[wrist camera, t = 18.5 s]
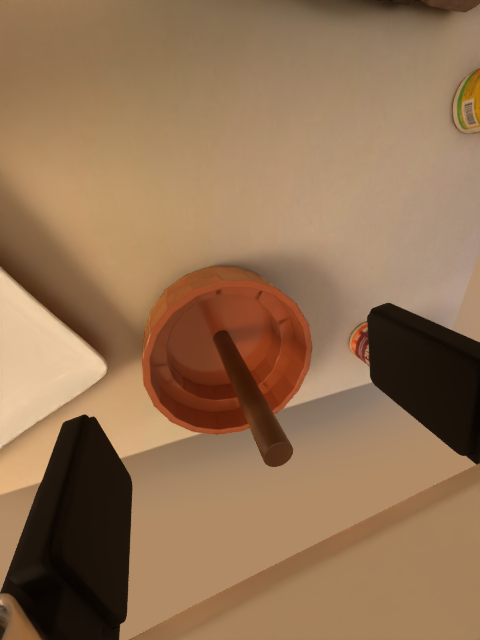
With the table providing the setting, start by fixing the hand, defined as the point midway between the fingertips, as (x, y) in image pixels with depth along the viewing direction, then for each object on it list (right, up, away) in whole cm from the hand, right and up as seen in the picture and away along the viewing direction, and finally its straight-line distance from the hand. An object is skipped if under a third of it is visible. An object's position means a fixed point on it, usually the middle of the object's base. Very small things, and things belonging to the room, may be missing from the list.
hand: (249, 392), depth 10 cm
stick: (-2, 0, +21) cm, 22 cm away
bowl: (-2, +1, +22) cm, 22 cm away
